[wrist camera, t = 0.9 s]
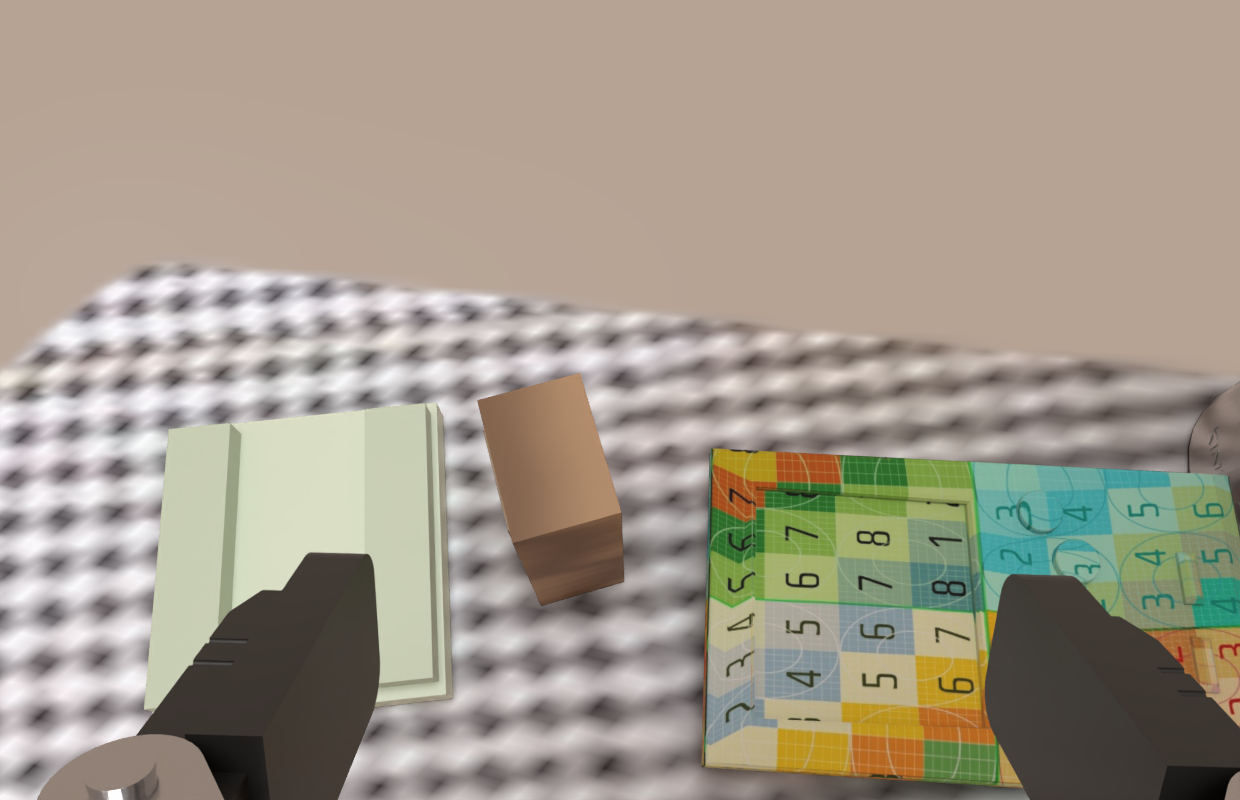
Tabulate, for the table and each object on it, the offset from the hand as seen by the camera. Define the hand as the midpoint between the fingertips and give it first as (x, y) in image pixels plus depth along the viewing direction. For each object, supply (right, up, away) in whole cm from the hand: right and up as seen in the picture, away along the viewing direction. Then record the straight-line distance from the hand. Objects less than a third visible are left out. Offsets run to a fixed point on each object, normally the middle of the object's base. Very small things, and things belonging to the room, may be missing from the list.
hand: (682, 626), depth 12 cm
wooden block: (-3, -3, +28) cm, 28 cm away
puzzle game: (+12, -7, +26) cm, 30 cm away
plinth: (-13, -4, +27) cm, 31 cm away
